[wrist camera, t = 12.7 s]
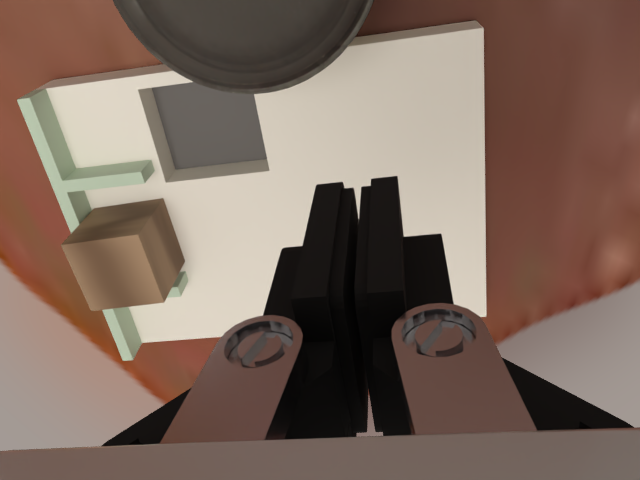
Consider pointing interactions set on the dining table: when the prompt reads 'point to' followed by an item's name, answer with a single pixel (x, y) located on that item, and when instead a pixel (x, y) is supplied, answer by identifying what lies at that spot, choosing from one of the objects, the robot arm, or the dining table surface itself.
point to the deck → (273, 165)
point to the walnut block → (125, 255)
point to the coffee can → (245, 38)
